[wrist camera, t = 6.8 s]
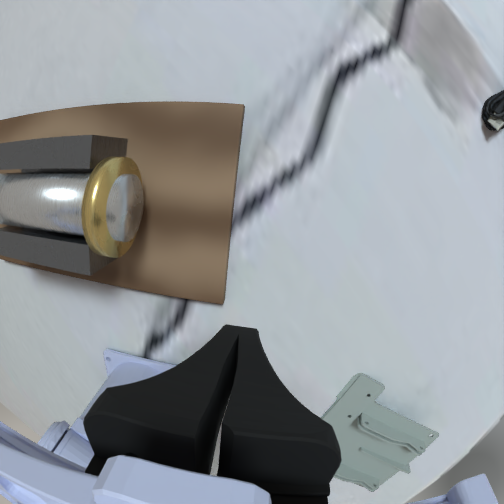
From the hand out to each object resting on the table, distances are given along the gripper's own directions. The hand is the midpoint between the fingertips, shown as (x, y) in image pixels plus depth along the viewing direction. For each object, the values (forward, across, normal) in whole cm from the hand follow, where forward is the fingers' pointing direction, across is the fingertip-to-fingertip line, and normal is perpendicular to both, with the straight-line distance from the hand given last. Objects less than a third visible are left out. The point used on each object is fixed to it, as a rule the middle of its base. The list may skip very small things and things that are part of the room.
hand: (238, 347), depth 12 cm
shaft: (+9, +16, -4) cm, 18 cm away
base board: (+10, +15, -4) cm, 19 cm away
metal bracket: (+11, -14, +18) cm, 25 cm away
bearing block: (+10, +15, -4) cm, 19 cm away
